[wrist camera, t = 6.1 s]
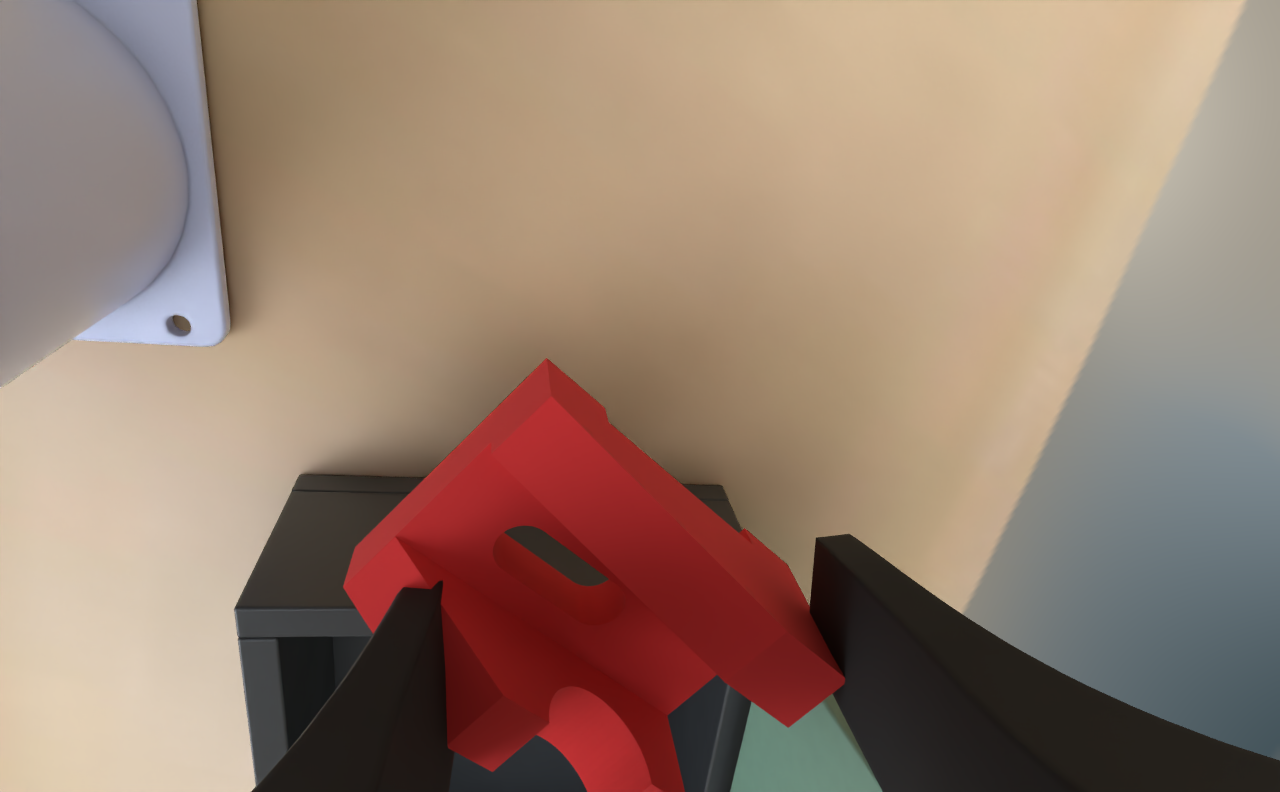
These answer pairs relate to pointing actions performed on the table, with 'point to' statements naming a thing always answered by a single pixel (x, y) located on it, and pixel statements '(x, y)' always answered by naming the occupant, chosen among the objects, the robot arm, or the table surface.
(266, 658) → the dark open box
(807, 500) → the table surface
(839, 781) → the green square panel
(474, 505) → the bracket
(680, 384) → the table surface
